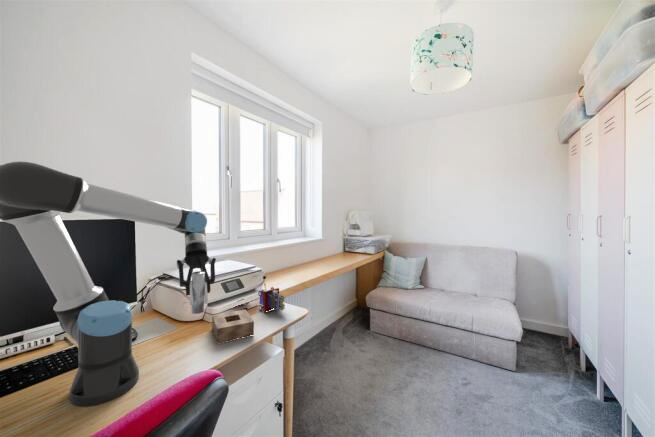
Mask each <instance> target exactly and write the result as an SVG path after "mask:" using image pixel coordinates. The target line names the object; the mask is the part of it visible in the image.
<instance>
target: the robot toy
mask: <svg viewBox="0 0 655 437" xmlns="http://www.w3.org/2000/svg"><path fill="white" fill-rule="evenodd" d="M262 279H263V280H264V281H266V280H265V279H267V275H263V276H262ZM263 286H264V288H265V289H264V288H262V289H260V290H261V291H260V290H258V292H257V295H258V296H259V305H258V310H259V311H263V312H264V314H267V313H266V311H269V310H271V309H273V308H274V309H277V310H279V311H284V310H285V309H286V304H285V303H284V302H285V300H286V297H285V296H284V294H282V293H280V288H279V287H278V288H275V287H273V286H272V287H271V288H270V289H269V290H267V289H266V283H264V284H263Z"/></svg>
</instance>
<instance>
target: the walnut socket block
mask: <svg viewBox="0 0 655 437" xmlns="http://www.w3.org/2000/svg"><path fill="white" fill-rule="evenodd" d="M211 316H212V317H211V329H212V332H213V336H214V339H215V343H216V344H217V345H219V344H218V343H220V344H224V343H227V342H226V341H229V342H231V341H230V340H233V339H237V338H242V337H247V336H250V335H254V333H255V332H254V331H255V328H254V326H255V322H254V319H253V318H252V317H251V315H250V314H249V312H248V311H247V309H240V310H234V311H227V312H221V313H217V314H212V315H211ZM247 338H248V337H247ZM242 339H243V338H242ZM233 341H234V340H233ZM223 342H224V343H223Z"/></svg>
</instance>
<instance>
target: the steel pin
mask: <svg viewBox="0 0 655 437" xmlns="http://www.w3.org/2000/svg"><path fill="white" fill-rule="evenodd" d="M204 283H205V272H203V271H201V270H200V271H193V272H192V277H191V284H192V293H193V303H192V305H191V310H190V312H191V314H193V315H198V314H203V313H204V311H205V298H204Z"/></svg>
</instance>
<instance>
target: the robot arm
mask: <svg viewBox="0 0 655 437" xmlns="http://www.w3.org/2000/svg"><path fill="white" fill-rule="evenodd" d="M74 212H83V213H88V214H93V215H97V216H105V217H108V218H109V217H110V218H115V219H121V220H126V221H132V222H137V223H142V224H148V225H152V226H157V227H158V226H159V227H164V228H167V229H170V230H172V231H175V232H178V233H180V234H183V235H184V245H185V246H184V250H185V253H184V254H185V257H184V258H183V259H181V260H180V259H177V260H176V267H177V268H178V278H179V280H178V281H179V287H183V288H185V295H186V296H187V297H188V296H189V306H192V303H193V293H192V273H193V272H194V269H195V270H196V269H200V271H203V272H205V283H204V304H207V303H208V301H209V297H208V295H209V294H210V293H211V285H212V284H214V283H215V281H216V269H215V264H216V260H217V258H216V257H213V258H211V257H209V256H208V249H207V248H208V247H207V238H206V227H207V224H208V219H207V218H208V217H207V216H206V214H204V213H203V211H202V212H201V211H198V210H192V209H186V208H184V207H180V206H175V205H172V204H167V203H164V202H160V201H157V200H152V199H148V198H144V197H140V196H136V195H132V194H129V193H125V192H121V191H118V190H115V189H114V190H113V189H110V188H107V187H102V186H97V185H95V184H90V183H87V182H86V181H85V180H84V178H82V177H79V176H75V175H71V174H68V173H66V172H63V171H59V170H57V169H53V168H50V167H48V166H44V165H42V164H39V163H35V162H31V161H30V162H29V161H12V162H6V163H4V164H0V219H1V221H2V222H4V223H7V224H11V225H13V226H14V227H15V228H16V230H17V232H18V234H19V235H20V237H21V239H22V240H23V242H24V244H25V246H26V248H27V249H28V251H29V253H30V255H31V256H32V258H33V260H34V262H35V263H36V266H37V267H38V269H39V270H40V271H39V272H41V274H42V276H43V278H44V279H45V282H46V284H48V286H49V289H50V290H51V292H52V294H53V296H54V297H55V299H56V303H55V304H54V305H53V311H54V314H56V316H57V319H58V321H59V326H60V327H61V329H62V330H63V332H64V333H66V334H68V335H69V337H71V338H72V340H74V342H76V343H77V348H78V349H77V350H78V352H77V355H78V356H77V358H78V359H77V360H78V368H77V371H76V373H75V376H74V379H73V380H72V383H71V386H70V389H69V402H70V403H71V404H72V405H74V406H77V407H88V406H89V407H91V406H96V405H99V404H104V403H106V402H109V401H111V400H114V399H115V398H116V399H117V398H118V397H120V396H123V395H124V394H125V393H127V392H129V391H130V390H131V389H133V387H134V386H136V384H137V383H138V381H139V377H140V369H139V367H138V365H137V362H136V360H135V357H134V356H133V318H134V316H133V313H132V312H133V310H132V307H131V305H130V304H129V303H127V302H125V301H123V300H118V301H117V300H115V299H114V300H109V298H108V296H107V294H106V292H105V289H104V288H103V286H97V285H95V283H94V282H93V279H92V277H91V276H90V274H89V272H88V270H87V268H86V266H85V264H84V262H83V260H82V258H81V256H80V254H79V251H78V249H77V248H76V246H75V244H74V242H73V240H72V238H71V235H70V233H69V231H68V230H67V228H66V226H65V224H64V222H63V220H62V217H61V216H60V214H61V213H66V214H72V213H74ZM207 263H208V264H209V265H210V266H209V268H210V269H209V270H210V277H209V274H208V271H207V268H206V264H207ZM185 264H186V265H187V266H188V268H189V269H188V272H187V277H186V280H185V277H184V266H185Z"/></svg>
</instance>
